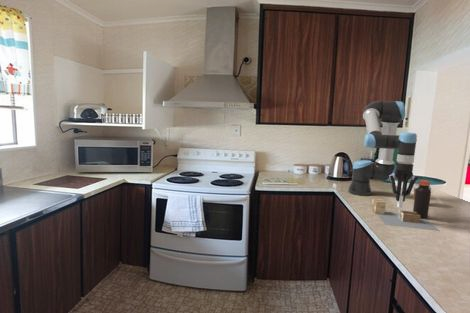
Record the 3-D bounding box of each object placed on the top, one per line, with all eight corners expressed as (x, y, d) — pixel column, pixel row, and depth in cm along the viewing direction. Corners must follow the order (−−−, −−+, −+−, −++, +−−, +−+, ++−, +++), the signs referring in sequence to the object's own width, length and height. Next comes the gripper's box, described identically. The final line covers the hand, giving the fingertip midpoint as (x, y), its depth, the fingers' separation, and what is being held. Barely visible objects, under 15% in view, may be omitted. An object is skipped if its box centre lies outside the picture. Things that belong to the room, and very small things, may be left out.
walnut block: (399, 210, 147) (416, 211, 145) (398, 217, 147) (415, 219, 146) (403, 213, 141) (420, 215, 139) (402, 221, 142) (419, 223, 140)
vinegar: (430, 218, 147) (435, 182, 144) (420, 219, 145) (425, 182, 142) (418, 214, 154) (423, 179, 151) (409, 215, 152) (414, 179, 149)
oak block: (371, 210, 157) (372, 198, 156) (380, 211, 157) (381, 199, 156) (375, 213, 152) (376, 201, 151) (384, 214, 152) (385, 202, 151)
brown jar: (413, 200, 181) (415, 183, 179) (430, 204, 174) (433, 186, 172) (409, 203, 174) (411, 185, 172) (427, 207, 167) (429, 188, 166)
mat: (374, 211, 158) (374, 210, 158) (421, 216, 152) (421, 215, 152) (385, 225, 137) (385, 224, 136) (440, 231, 131) (440, 230, 131)
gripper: (393, 163, 138) (387, 207, 142) (422, 164, 135) (416, 210, 139) (388, 160, 146) (383, 203, 149) (416, 162, 143) (410, 206, 146)
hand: (399, 207), depth 144 cm, fingers closed
